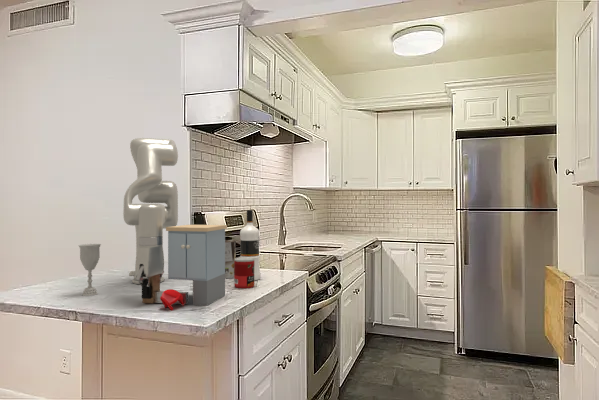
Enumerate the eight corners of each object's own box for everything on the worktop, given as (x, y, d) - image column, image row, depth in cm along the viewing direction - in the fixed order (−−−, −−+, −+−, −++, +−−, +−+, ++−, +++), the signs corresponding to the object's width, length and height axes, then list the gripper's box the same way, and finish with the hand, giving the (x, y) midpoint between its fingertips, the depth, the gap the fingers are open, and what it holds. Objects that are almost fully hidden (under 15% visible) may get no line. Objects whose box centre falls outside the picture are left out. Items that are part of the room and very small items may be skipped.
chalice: (78, 297, 140) (78, 246, 140) (78, 293, 146) (78, 244, 146) (101, 295, 144) (101, 245, 144) (101, 291, 150) (100, 243, 150)
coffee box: (234, 278, 174) (234, 241, 174) (219, 278, 174) (219, 241, 174) (235, 274, 183) (235, 239, 183) (221, 274, 183) (221, 239, 183)
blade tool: (142, 302, 131) (142, 275, 131) (149, 299, 135) (149, 273, 135) (184, 304, 128) (183, 276, 128) (190, 301, 132) (189, 274, 132)
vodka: (240, 277, 176) (240, 209, 176) (261, 277, 176) (261, 209, 177) (237, 281, 167) (237, 210, 167) (259, 281, 167) (259, 210, 167)
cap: (165, 302, 120) (181, 289, 123) (155, 292, 124) (171, 280, 127) (174, 318, 125) (189, 305, 128) (164, 309, 129) (180, 297, 132)
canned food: (250, 289, 153) (250, 260, 153) (231, 288, 154) (231, 259, 154) (257, 285, 160) (256, 257, 160) (238, 284, 162) (238, 257, 162)
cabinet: (164, 304, 130) (164, 227, 131) (189, 293, 146) (188, 224, 146) (206, 307, 127) (206, 227, 127) (227, 295, 142) (226, 225, 142)
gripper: (155, 239, 142) (155, 290, 142) (124, 244, 125) (124, 302, 125) (174, 239, 140) (174, 291, 140) (145, 244, 124) (145, 303, 124)
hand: (150, 296), depth 133 cm, fingers closed on blade tool, 4 cm apart
